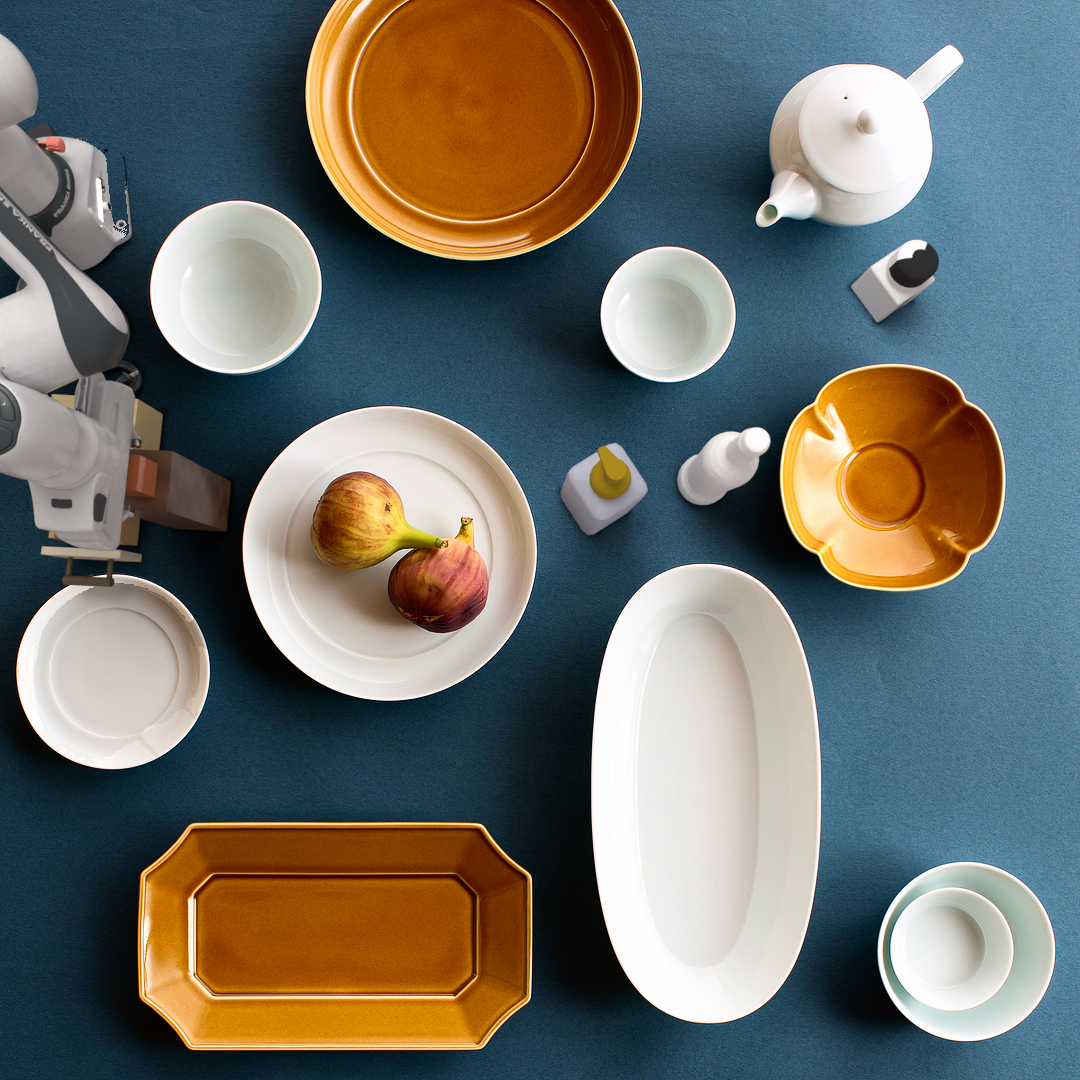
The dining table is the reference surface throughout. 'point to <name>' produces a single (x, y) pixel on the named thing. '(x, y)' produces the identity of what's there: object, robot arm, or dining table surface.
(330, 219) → the dining table surface
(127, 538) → the drawer
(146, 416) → the cabinet
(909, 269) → the container
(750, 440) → the bottle
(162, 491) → the stand
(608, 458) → the soap bottle
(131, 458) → the block
